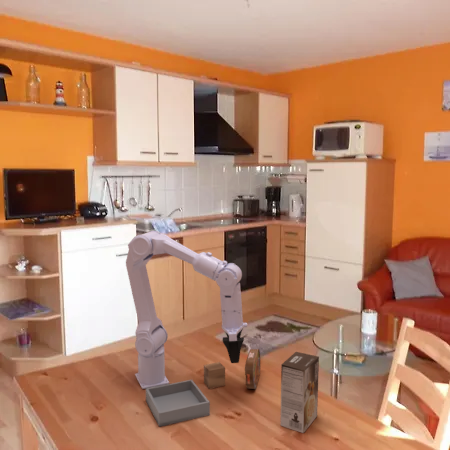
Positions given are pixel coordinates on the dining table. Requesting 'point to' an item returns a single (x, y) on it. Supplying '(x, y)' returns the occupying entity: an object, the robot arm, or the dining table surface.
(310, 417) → the coffee box
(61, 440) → the dining table surface
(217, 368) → the block
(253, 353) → the tin
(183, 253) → the robot arm
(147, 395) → the bin
